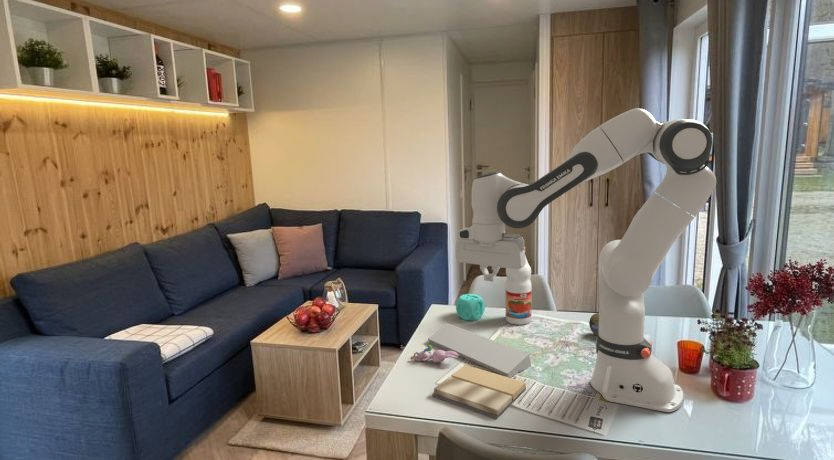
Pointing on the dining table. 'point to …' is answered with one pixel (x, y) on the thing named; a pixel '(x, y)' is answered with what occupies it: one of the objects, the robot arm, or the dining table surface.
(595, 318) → the tin
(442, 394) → the ash plank
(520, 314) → the fruit juice
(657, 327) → the dining table surface
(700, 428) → the dining table surface
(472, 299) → the decorative dice
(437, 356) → the rabbit figure
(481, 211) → the robot arm
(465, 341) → the decorative molding
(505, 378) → the laid floor
